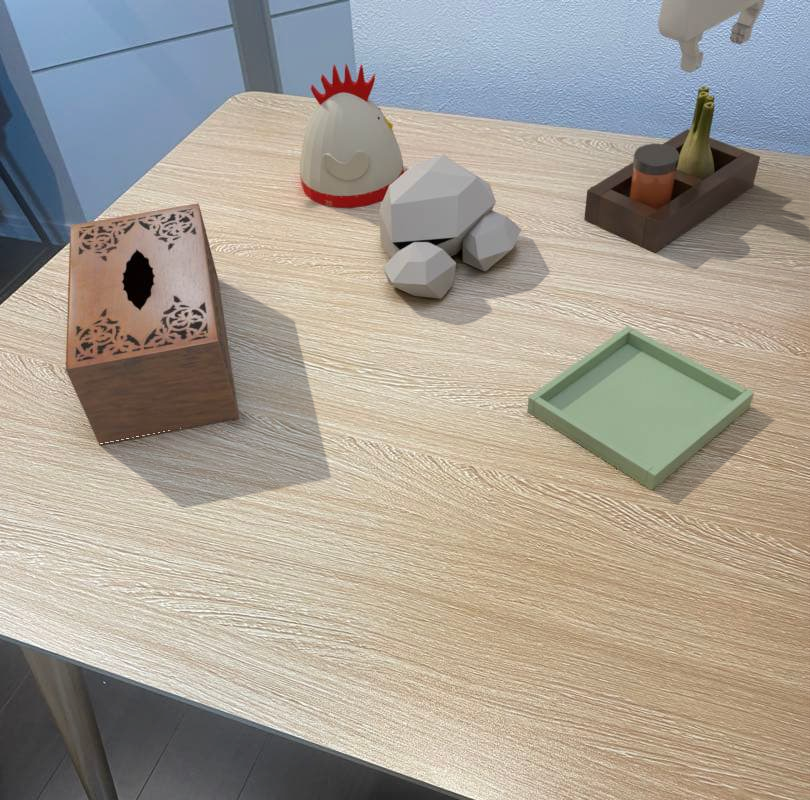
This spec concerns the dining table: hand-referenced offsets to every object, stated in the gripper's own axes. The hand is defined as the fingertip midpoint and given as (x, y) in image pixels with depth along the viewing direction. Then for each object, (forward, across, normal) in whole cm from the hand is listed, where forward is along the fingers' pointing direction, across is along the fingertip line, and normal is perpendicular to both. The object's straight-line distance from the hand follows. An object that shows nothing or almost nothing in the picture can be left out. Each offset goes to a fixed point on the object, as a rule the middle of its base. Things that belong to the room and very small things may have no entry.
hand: (715, 55), depth 105 cm
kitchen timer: (+17, -27, +35) cm, 47 cm away
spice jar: (+16, -9, 0) cm, 19 cm away
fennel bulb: (+17, 0, 0) cm, 17 cm away
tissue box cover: (+17, -66, +22) cm, 72 cm away
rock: (+17, -32, +14) cm, 39 cm away
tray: (+16, -37, -21) cm, 46 cm away
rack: (+16, -4, 0) cm, 17 cm away
